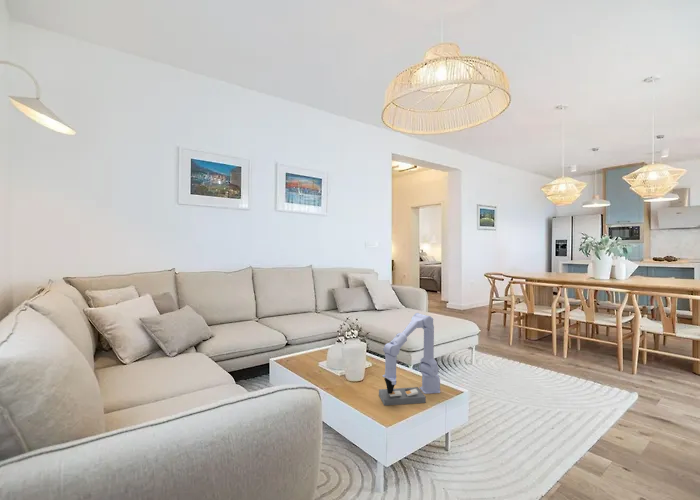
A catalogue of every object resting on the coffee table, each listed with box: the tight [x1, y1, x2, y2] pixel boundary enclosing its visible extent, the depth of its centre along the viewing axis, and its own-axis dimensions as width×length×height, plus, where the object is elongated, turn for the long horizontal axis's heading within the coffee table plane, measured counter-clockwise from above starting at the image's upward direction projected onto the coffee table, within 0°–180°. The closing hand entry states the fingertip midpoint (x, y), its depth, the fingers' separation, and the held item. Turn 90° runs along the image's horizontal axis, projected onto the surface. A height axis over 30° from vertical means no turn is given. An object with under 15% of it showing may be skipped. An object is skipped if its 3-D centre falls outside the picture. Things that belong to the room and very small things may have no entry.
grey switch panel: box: [378, 386, 427, 406], centre depth 180 cm, size 22×12×3 cm, turn 98°
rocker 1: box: [389, 391, 402, 397], centre depth 176 cm, size 6×4×1 cm, turn 98°
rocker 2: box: [405, 389, 418, 397], centre depth 177 cm, size 6×4×1 cm, turn 98°
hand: (389, 393), depth 176 cm, fingers closed, pressing on rocker 1
